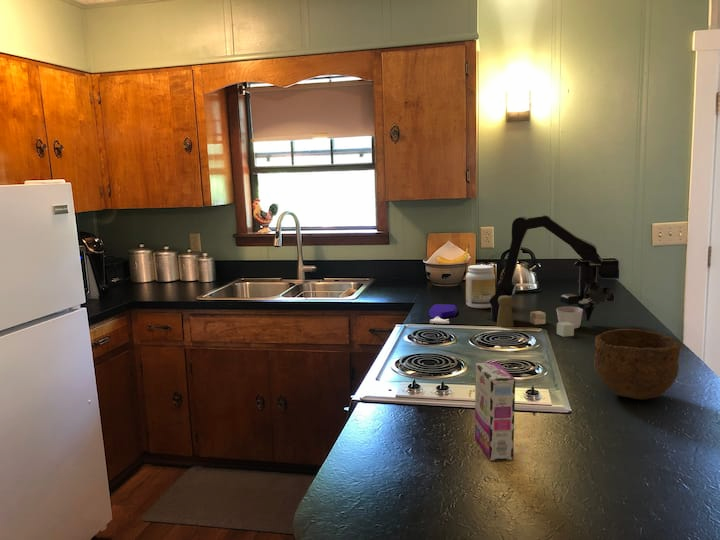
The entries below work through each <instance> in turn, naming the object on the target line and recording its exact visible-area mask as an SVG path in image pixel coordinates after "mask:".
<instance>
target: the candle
mask: <svg viewBox="0 0 720 540" xmlns="http://www.w3.org/2000/svg"><path fill="white" fill-rule="evenodd" d="M556 313H557V320H558V323H560V322H569V323H572V324H574V330H575V329H578V328H580V326H581V321H582V318H583V314H582V313H583V309H581V308H579V306H578V307H576V306H561V307H560V306H559V307H557V308H556Z"/></svg>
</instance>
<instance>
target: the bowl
mask: <svg viewBox="0 0 720 540" xmlns="http://www.w3.org/2000/svg"><path fill="white" fill-rule="evenodd" d="M681 347H682V344H681V343H680V342H678V341H677V340H675V339H674V338H672V337H671V336H668V335H665V334H662V333H657V332H652V331H647V330H643V329H636V328H635V329H633V328H632V329H631V328H620V329H619V328H617V329H612V330H607V331H604V332H602V333H600V334H598V335H596V336H595V339H594V361H593V368H594V371H595V373H596V374H597V377H598V378H599V379H600V381H601V383H603V384H604V385H603V386H605V387H606V388H607V390H609V391H610V392H612V393H613V394H616V395H617V396H619V397H625V398H630V399H634V400H640V401H641V400H649V399H652V398H653V399H654V398H657V397H659V396H661V395H664V393H666V391H668V390H669V389H670V388H671V387H672V385H673V384H674V382H675V380H676V379H677V377H678V372H679V358H680V356H679V355H680V351H681Z"/></svg>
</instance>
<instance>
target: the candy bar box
mask: <svg viewBox="0 0 720 540" xmlns="http://www.w3.org/2000/svg"><path fill="white" fill-rule="evenodd" d="M474 387H475V389H474V390H475V391H474V392H475V393H474V394H475V395H474V398H475V400H474V403H475V405H474V438H475V440H476V442H477V443H478V444H479V446H480V447H481V449H482V451H483V453H484V454H485V455H486V457H487V458H488V460H489V462H497V461H498V462H503V461H504V462H505V461H506V462H507V461H513V460H514V445H515V444H514V439H515V438H514V437H515V433H514V432H515V410H516V409H515V407H516V406H515V405H516V404H515V402H516V401H515V400H516V399H515V398H516V378H515V377H514V376H513V375H512V374H510V373H509V371H507V369H505V368H504V367H503V366H502V365H501V364H499V362H494V361H493V362H476V363H475V386H474Z"/></svg>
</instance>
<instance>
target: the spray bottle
mask: <svg viewBox="0 0 720 540" xmlns="http://www.w3.org/2000/svg"><path fill="white" fill-rule="evenodd" d="M457 313H458V307H457V306H456V305H455V304H450V303H449V304H446V303H445V304H443V303H440V304H439V303H436V304H434V305H432V306H431V307H430V309H429V312H428V315H429V318H430V319H429V324H434V323H435V324H438V325H446V324H447V325H448V324H450V321H449V320H450V319H449V318H453V317H455V316H456V315H457ZM444 318H447V319H444Z"/></svg>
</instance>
